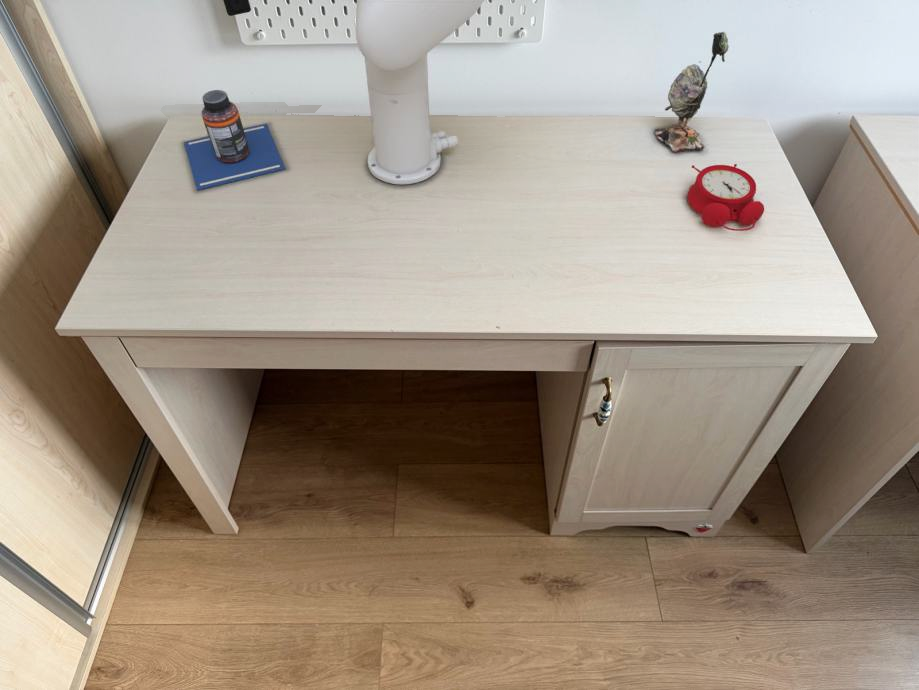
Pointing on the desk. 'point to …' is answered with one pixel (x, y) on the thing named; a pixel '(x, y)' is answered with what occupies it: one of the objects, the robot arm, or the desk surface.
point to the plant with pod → (689, 100)
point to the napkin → (255, 164)
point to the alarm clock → (725, 197)
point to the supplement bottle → (224, 127)
